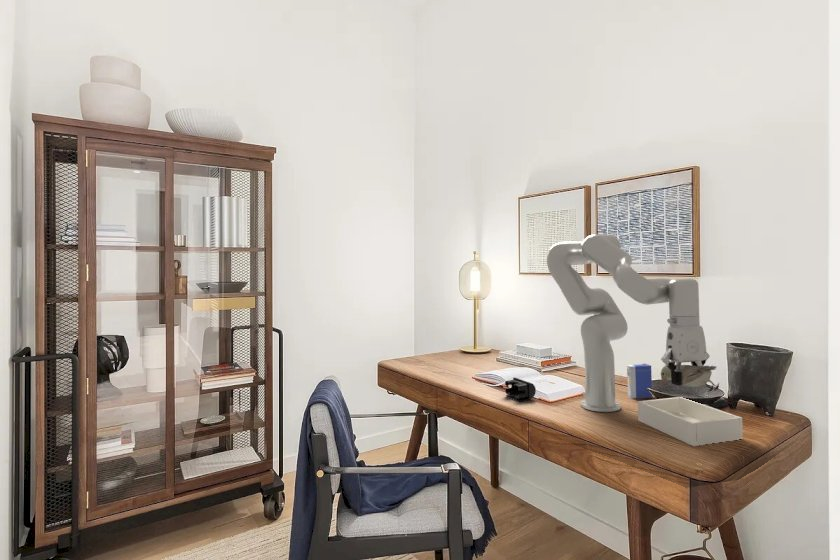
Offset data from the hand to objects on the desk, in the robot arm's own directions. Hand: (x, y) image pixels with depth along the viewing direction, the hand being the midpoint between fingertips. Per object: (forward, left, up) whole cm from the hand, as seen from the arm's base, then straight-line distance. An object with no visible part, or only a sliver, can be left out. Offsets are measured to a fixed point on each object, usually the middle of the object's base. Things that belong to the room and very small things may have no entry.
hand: (686, 382), depth 132 cm
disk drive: (-19, +23, -14) cm, 33 cm away
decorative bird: (+1, 0, -1) cm, 2 cm away
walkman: (-33, +9, -14) cm, 37 cm away
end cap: (-46, -32, -14) cm, 57 cm away
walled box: (0, 0, -14) cm, 14 cm away
